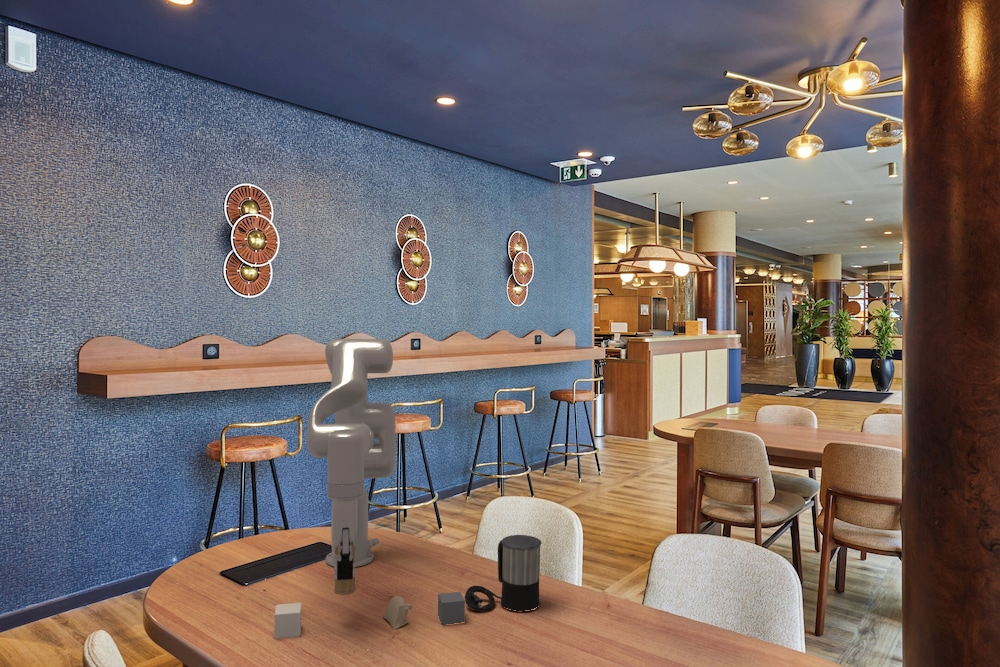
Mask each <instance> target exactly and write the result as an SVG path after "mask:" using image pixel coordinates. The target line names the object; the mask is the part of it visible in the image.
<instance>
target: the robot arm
mask: <svg viewBox="0 0 1000 667" xmlns="http://www.w3.org/2000/svg"><path fill="white" fill-rule="evenodd" d="M325 345H326V346H325V350H324V352H325V354H324V355H325V359H326V360H325V361H326V364H327V367H328V369H329V372H330V375H331V382H330V384H331V386H330V388H329V389H328V390H326V391H325V392H324V393H323V394H322V395H321V396H320V397H319V398H318V399H317V401H316V402H315V403H314V404H313V406H312V408H311V410H310V413H309V416H308V421H307V422H308V424H307V432H306V433H307V434H306V447H307V448H306V449H307V451H308V453H309V455H310V456H312V457H314V458H316V459H327V460H326V461H327V462H326V463H327V466H326V468H327V469H326V470H327V472H326V476H327V478H326V479H327V480H326V483H327V484H326V492H327V494H326V498H328V500H331V511H330V514H331V522H330V523H331V525H330V526H331V527H330V528H331V530H330V531H331V532H330V533H331V536H330V537H331V538H330V539H331V542H330V543H331V544H330V545H331V552H330V553H328V554H326V557H325V562H326V564H327V565H329V566H331V567H334V553H335V547H338V549H339V555H338V560H337V580H348V579H352V578H353V559H352V547H353V546H355V568H357V567H361V566H362V567H363V566H365V565H368V564H370V563H372V561H374V555H375V554H374V553H373V552H372V551H371V548H372V547H375V546H377V545H379V542H380V540H379V538H378V537H374V538H372V539H369V493H368V490H367V489H366V487H365V486H364V485H365V484H364V483H365V482H364V481H365V479H385V478H389V477H391V476H392V475H393V474H394V472H395V468H396V415H395V410H394V408H393V407H392V405H390V404H389V403H386V402H370V401H368V390H369V388H368V387H369V386H368V374H388V373H389V372H390V371H391V370H392V367H393V365H394V364H393V363H394V362H393V361H394V352H393V351H394V350H393V346H392V344H391V343H390V341H389V340H388V339H385V338H384V339H383V338H337V339H333V340H329V341H328V342H327V343H326V344H325ZM333 414H334V416H335V417H334V418H335V419H334V420H335V422H334V423H323V422H324V421H325V420H326V419H327V418H328V417H330V416H331V415H333ZM375 439H377V440H378V442H374V441H375ZM342 529H343V535H342ZM340 540H341V543H343V545H342V546H340ZM349 543H350V545H349ZM338 545H339V546H338ZM341 549H343V551H341Z"/></svg>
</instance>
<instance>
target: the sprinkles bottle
mask: <svg viewBox="0 0 1000 667" xmlns="http://www.w3.org/2000/svg"><path fill="white" fill-rule="evenodd" d="M342 535H343V529H342ZM342 545H343V543H341V540H340V546H342ZM349 545H350V543H349ZM338 546H339V545H338ZM341 551H343V549H341ZM338 555H339V549H338V547H335V553H334V566H333V567H334V570H333V572H334V573H333V576H334V588H333V592H334V594H336V595H337V596H338V595H339V596H349V595H351V594H353V593H355V591H356V589H357V588H356V567H355V546H353V547H352V559H353V578H352V579H348V580H337V560H338Z"/></svg>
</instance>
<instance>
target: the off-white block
mask: <svg viewBox="0 0 1000 667" xmlns="http://www.w3.org/2000/svg"><path fill="white" fill-rule="evenodd" d="M274 611H275V612H274V633H273V634H274V640H277V639H278V640H280V639H288V638H297V637H299V638H300V637H301V630H302V602H294V603H291V602H290V603H283V604H276V605H275V610H274Z"/></svg>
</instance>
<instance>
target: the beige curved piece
mask: <svg viewBox="0 0 1000 667" xmlns="http://www.w3.org/2000/svg"><path fill="white" fill-rule="evenodd" d="M411 609H413V605H412V604H408V603H407V601H406V599H405V598H404V597H403V596H400V595H395V596H393V597H391V599H390V601H389V602H388V604H387V606H386V609H385V613H384V615H383V618H384V619H386V620H387V621H388V623H389V624H390V625H391V627H392V629H394V630H397V629H399V628H401V627H402V626H405V625H407V624H408V622H409V621H408V617H407V616H408V614H409V613H408V612H409V610H411Z"/></svg>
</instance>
